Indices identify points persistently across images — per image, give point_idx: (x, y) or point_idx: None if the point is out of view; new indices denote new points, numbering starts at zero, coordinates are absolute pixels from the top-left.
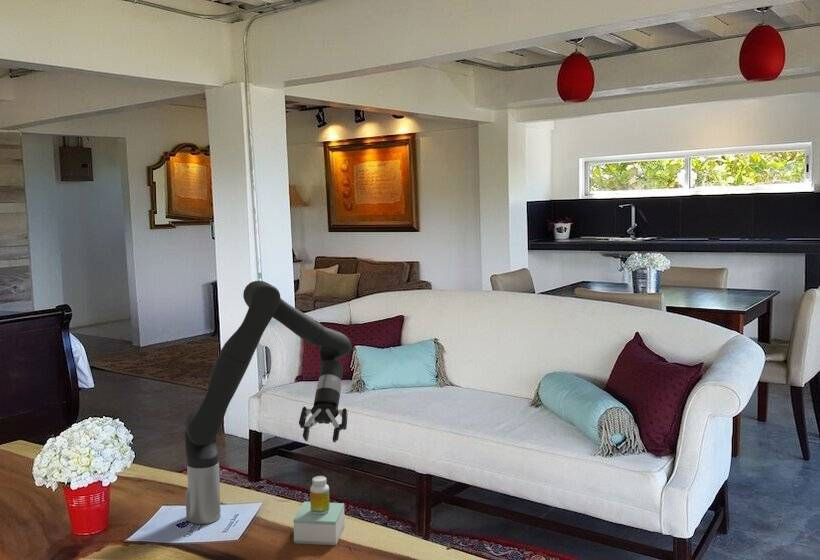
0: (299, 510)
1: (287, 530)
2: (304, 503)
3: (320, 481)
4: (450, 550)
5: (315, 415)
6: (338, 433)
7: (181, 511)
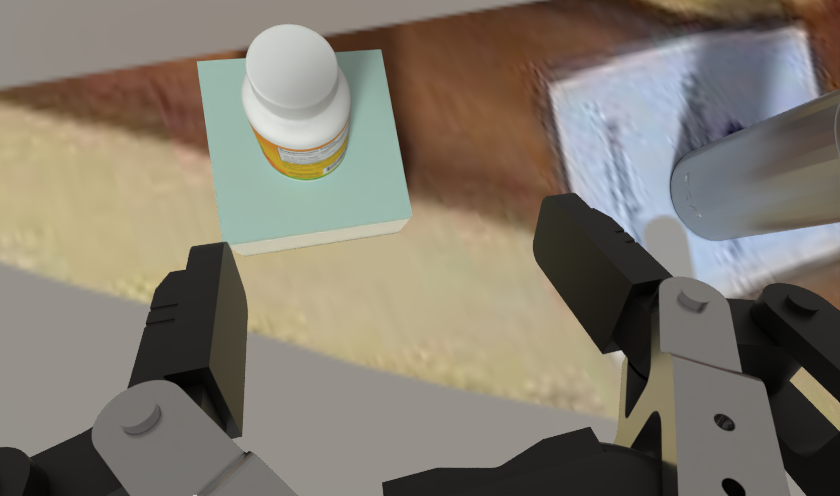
0: (394, 130)
1: (433, 175)
2: (402, 197)
3: (269, 28)
4: None
5: (713, 472)
6: (148, 349)
7: None
